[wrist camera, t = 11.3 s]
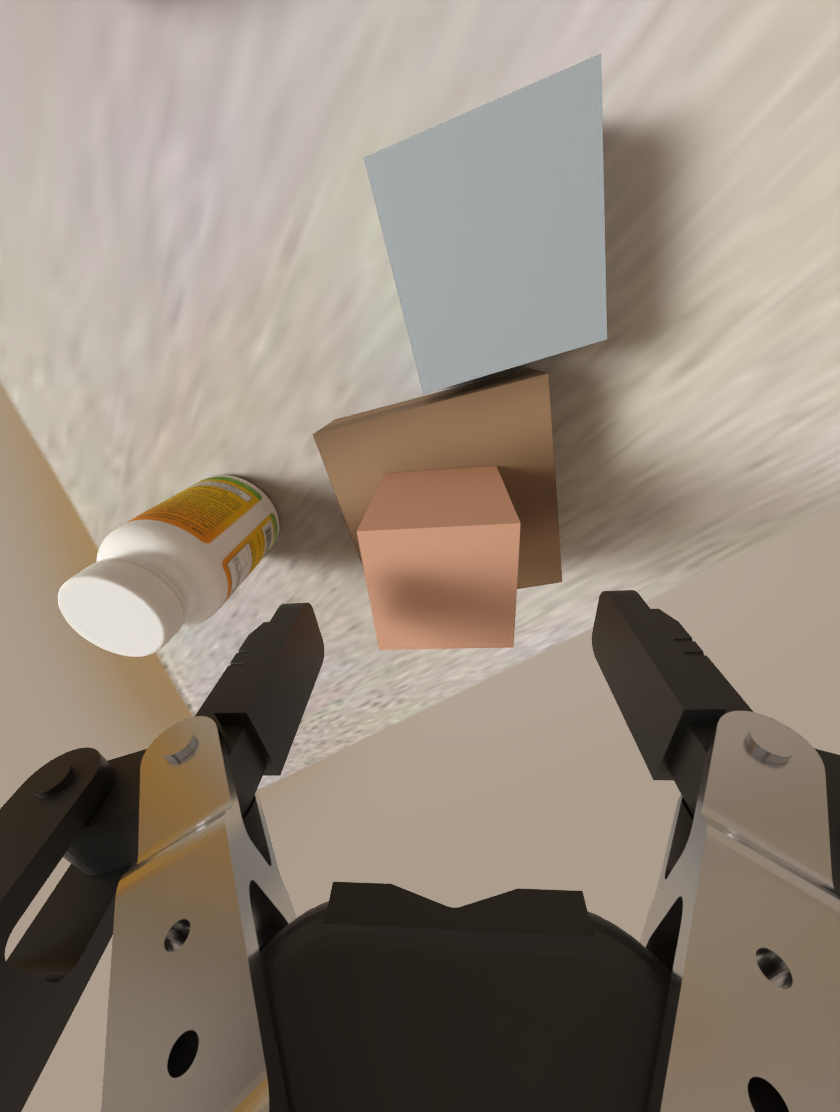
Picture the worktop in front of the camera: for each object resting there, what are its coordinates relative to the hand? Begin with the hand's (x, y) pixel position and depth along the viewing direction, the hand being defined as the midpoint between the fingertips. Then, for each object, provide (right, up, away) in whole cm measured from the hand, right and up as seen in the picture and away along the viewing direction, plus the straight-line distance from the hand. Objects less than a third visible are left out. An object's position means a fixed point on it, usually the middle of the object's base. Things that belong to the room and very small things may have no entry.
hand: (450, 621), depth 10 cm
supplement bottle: (-12, +4, +12) cm, 18 cm away
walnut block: (+1, +6, +10) cm, 12 cm away
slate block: (+2, +14, +5) cm, 15 cm away
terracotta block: (0, +4, +7) cm, 8 cm away
